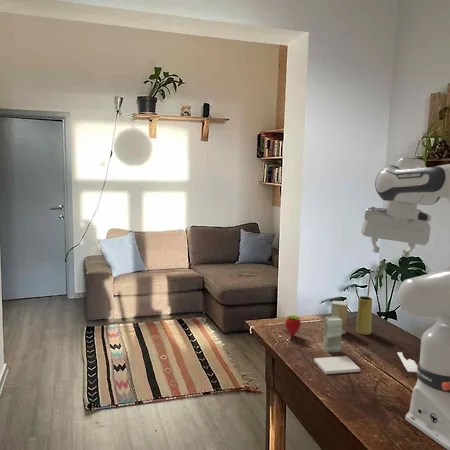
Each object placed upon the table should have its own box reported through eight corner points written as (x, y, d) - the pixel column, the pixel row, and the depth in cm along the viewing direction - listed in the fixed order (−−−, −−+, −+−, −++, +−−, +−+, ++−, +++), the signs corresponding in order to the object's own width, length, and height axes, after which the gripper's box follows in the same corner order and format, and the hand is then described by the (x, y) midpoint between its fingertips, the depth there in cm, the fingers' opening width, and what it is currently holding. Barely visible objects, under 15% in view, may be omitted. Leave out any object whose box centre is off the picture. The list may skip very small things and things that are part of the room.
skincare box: (329, 332, 183) (330, 303, 182) (330, 329, 187) (331, 300, 186) (346, 334, 181) (347, 304, 180) (346, 330, 185) (348, 301, 184)
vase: (372, 335, 180) (374, 300, 179) (356, 334, 182) (357, 299, 180) (370, 330, 186) (372, 296, 184) (355, 328, 188) (356, 295, 186)
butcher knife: (411, 355, 163) (412, 352, 163) (423, 374, 148) (423, 371, 148) (397, 354, 164) (397, 351, 163) (407, 373, 149) (407, 370, 149)
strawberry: (299, 333, 182) (300, 309, 181) (300, 340, 175) (301, 315, 173) (284, 332, 183) (285, 308, 181) (285, 339, 175) (285, 314, 174)
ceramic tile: (360, 371, 149) (360, 368, 148) (325, 374, 146) (325, 371, 146) (346, 358, 158) (346, 356, 158) (314, 361, 156) (314, 358, 156)
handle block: (340, 351, 164) (342, 319, 163) (327, 352, 163) (328, 320, 162) (336, 347, 168) (337, 316, 167) (323, 348, 167) (324, 316, 166)
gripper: (369, 207, 136) (360, 251, 138) (436, 217, 136) (426, 261, 139) (363, 204, 142) (354, 247, 144) (427, 214, 143) (417, 256, 145)
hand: (390, 254), depth 142 cm, fingers open, 8 cm apart
